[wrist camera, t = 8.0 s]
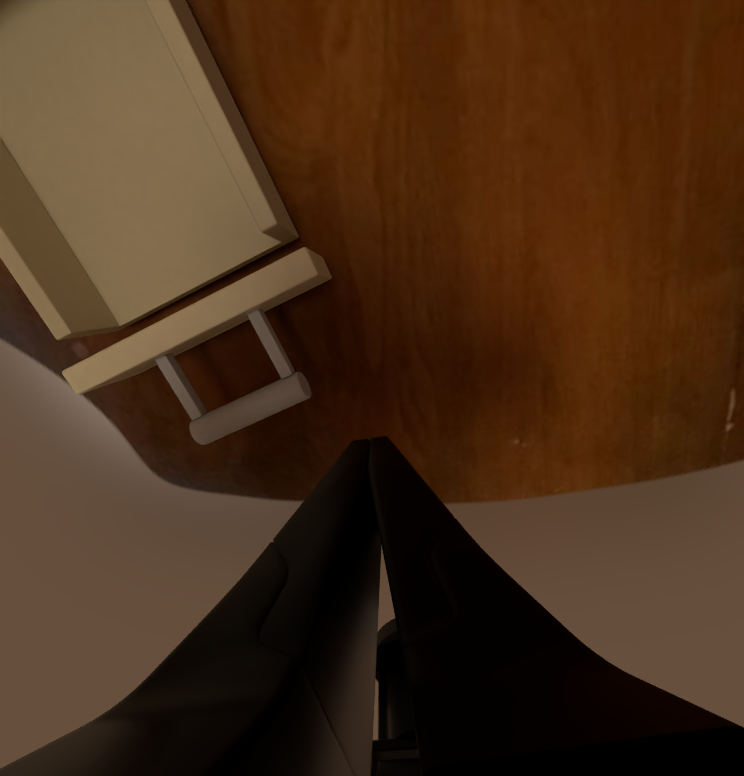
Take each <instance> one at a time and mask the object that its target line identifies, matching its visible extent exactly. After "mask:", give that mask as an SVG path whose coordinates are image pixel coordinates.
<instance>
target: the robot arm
mask: <svg viewBox="0 0 744 776" xmlns="http://www.w3.org/2000/svg"><path fill="white" fill-rule="evenodd" d="M381 544H382V549H383V555H384V560H385V565H386V570H387V575H388V581H389V586H390V592H391V596H392V602H393V607H394V613H395V618H396V623H397V628H398V634H399V639H398V640H396V641H393V642H391V643H389V644H386V645H384V646H381V647H379V648H377V628H378V607H379V585H380V584H379V583H380V563H381ZM376 671H377V672H378V674H379V680H378V740H373V717H374V696H375V674H376ZM0 776H744V728H743V727H742V726H739V725H737V724H735V723H733V722H731V721H729V720H727V719H724V718H722V717H720V716H718V715H716V714H713V713H711V712H709V711H707V710H705V709H703V708H701V707H699V706H697V705H694V704H692V703H690V702H688V701H686V700H684V699H682V698H679V697H677V696H675V695H673V694H671V693H669V692H666V691H664V690H662V689H660V688H658V687H656V686H654V685H651V684H649V683H647V682H645V681H643V680H640V679H639V678H637V677H634V676H632V675H630V674H628V673H626V672H624V671H622V670H621V669H619V668H617V667H616V666H614V665H612V664H611V663H609V662H608V661H606V660H605V659H603V658H602V657H601V656H599V655H598V654H596V653H595V652H594V651H592V650H591V649H590V648H588V647H587V646H586V645H585V644H583V643H582V642H581V641H580V640H579V639H577V638H576V637H575V636H574V635H573V634H572V633H571V632H570V631H569V630H568V629H566V628H565V627H564V626H563V625H562V624H561V623H560V622H559V621H558V620H557V619H556V618H554V616H552V615H551V614H550V613H549V612H548V611H547V610H546V609H545V608H544V607H543V606H542V605H541V604H540V603H538V602H537V601H536V600H535V599H534V598H533V597H532V596H531V595H530V594H529V593H528V592H527V591H526V590H524V589H523V588H522V587H521V586H520V585H519V584H518V583H517V582H516V581H515V580H514V579H513V578H511V577H510V576H509V575H508V574H507V573H506V572H505V571H504V570H503V569H502V568H501V567H500V566H499V565H498V564H497V563H496V562H495V561H494V560H493V559H492V558H491V557H490V556H489V555H488V554H487V553H486V552H485V551H484V550H483V549H482V548H481V547H480V546H479V545H478V544H477V543H476V542H475V540H474V539H473V538H472V537H471V536H470V535H469V534H468V533H467V531H466V530H465V529H464V528H463V527H462V525H461V524H460V523H459V522H458V521H457V519H455V518H454V516H453V515H452V514H451V512H450V511H449V510H448V509H447V508H446V506H445V505H444V504H443V503H442V502H441V500H440V499H439V498H438V497H437V496H436V494H435V493H434V492H433V491H432V489H431V488H430V487H429V486H428V485H427V483H426V482H425V481H424V480H423V479H422V477H421V476H420V475H419V474H418V473H417V471H416V470H415V469H414V468H413V467H412V465H411V464H410V463H409V462H408V461H407V459H406V458H405V457H404V456H403V455H402V453H401V452H400V451H399V450H398V449H397V447H396V446H395V445H394V444H393V442H392V441H391V440H390V439H389V438H388V437H387V436H382V437H375V438H371V439H370V440H369V439H362V440H355V441H352V442H351V443H350V445H349V446H348V447H347V448H346V450H345V451H344V452H343V453H342V454H341V456H340V457H339V458H338V459H337V461H336V462H335V463H334V464H333V466H332V467H331V468H330V469H329V471H328V472H327V473H326V474H325V476H324V477H323V478H322V479H321V481H320V482H319V483H318V484H317V486H316V487H315V488H314V489H313V491H312V492H311V493H310V494H309V496H308V497H307V498H306V499H305V501H304V502H303V503H302V504H301V506H300V507H299V508H298V509H297V511H296V512H295V513H294V514H293V515H292V517H291V518H290V519H289V520H288V522H287V523H286V524H285V526H284V527H283V528H282V529H281V530H280V532H279V533H278V534H277V535H276V537H275V538H274V539H273V542H271V543H270V544H269V545H268V546H267V548H266V549H265V550H264V551H263V553H262V554H261V555H260V556H259V558H258V559H257V560H256V561H255V562H254V564H253V565H252V566H251V567H250V568H249V569H248V571H247V572H246V573H245V574H244V575H243V577H242V578H241V579H240V580H239V581H238V582H237V583H236V585H234V587H233V588H232V589H231V590H230V591H229V592H228V593H227V594H226V595H225V596H224V598H223V599H222V600H221V601H220V602H219V603H218V604H217V605H216V606H215V607H214V608H213V609H212V610H211V611H210V613H208V615H207V616H206V617H205V618H204V619H203V620H202V621H201V622H200V623H199V624H198V625H197V626H196V627H195V628H194V629H193V630H192V631H191V633H189V634H188V635H187V637H186V638H185V639H184V640H183V641H182V642H181V643H180V644H179V645H178V646H177V647H176V648H175V649H174V650H173V651H172V652H171V653H170V654H169V655H168V656H167V657H166V659H165V660H164V661H163V662H162V663H161V664H160V665H159V666H158V667H157V668H156V669H155V670H154V671H153V672H152V673H151V674H150V676H148V677H147V678H146V679H145V680H144V681H143V682H142V683H141V684H140V685H139V686H138V687H137V688H136V689H135V690H134V691H132V692H131V693H130V694H129V695H128V696H127V697H125V698H124V699H123V700H122V701H121V702H119V703H118V704H117V705H115V706H114V707H112V708H111V709H110V710H108V711H107V712H105V713H104V714H102V715H101V716H99V717H98V718H96V719H94V720H93V721H91V722H89V723H87V724H86V725H84V726H82V727H80V728H78V729H76V730H74V731H72V732H70V733H68V734H66V735H64V736H63V737H61V738H59V739H57V740H55V741H53V742H51V743H49V744H47V745H45V746H43V747H41V748H39V749H37V750H35V751H34V752H32V753H30V754H28V755H26V756H24V757H22V758H20V759H18V760H16V761H14V762H12V763H10V764H8V765H6V766H5V767H3V768H1V769H0Z"/></svg>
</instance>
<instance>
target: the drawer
mask: <svg viewBox="0 0 744 776" xmlns="http://www.w3.org/2000/svg"><path fill="white" fill-rule="evenodd" d="M297 238H299V236H298V234H297V231H296V229H295V227H294V225H293V223H292V221H291V219H290V217H289V215H288V213H287V211H286V208H285V206H284V204H283V202H282V200H281V198H280V196H279V194H278V192H277V190H276V188H275V186H274V183H273V181H272V179H271V177H270V175H269V173H268V171H267V169H266V167H265V165H264V163H263V161H262V158H261V156H260V154H259V152H258V150H257V148H256V146H255V144H254V142H253V140H252V138H251V135H250V133H249V131H248V129H247V127H246V125H245V123H244V121H243V119H242V117H241V115H240V113H239V110H238V108H237V106H236V104H235V102H234V100H233V98H232V96H231V94H230V92H229V90H228V88H227V85H226V83H225V81H224V79H223V77H222V75H221V73H220V71H219V69H218V67H217V65H216V62H215V60H214V58H213V56H212V54H211V52H210V50H209V48H208V46H207V44H206V42H205V40H204V37H203V35H202V33H201V31H200V29H199V27H198V25H197V23H196V21H195V19H194V17H193V15H192V12H191V10H190V8H189V6H188V4H187V2H186V0H0V258H1V259H2V261H3V262H4V264H5V265H6V267H7V268H8V269H9V271H10V272H11V274H12V275H13V277H14V278H15V280H16V281H17V283H18V284H19V286H20V287H21V288H22V290H23V291H24V293H25V294H26V296H27V297H28V299H29V300H30V302H31V303H32V305H33V306H34V307H35V309H36V310H37V312H38V313H39V315H40V316H41V318H42V319H43V321H44V322H45V324H46V325H47V326H48V328H49V329H50V331H51V332H52V334H53V335H54V337H55V338H56V339H57V340H62V339H69V338H75V337H82V336H89V335H95V334H102V333H108V332H115V331H120V330H122V329H124V328H126V327H127V326H129V325H131V324H133V323H135V322H137V321H139V320H141V319H143V318H145V317H147V316H149V315H151V314H153V313H154V312H156V311H158V310H160V309H162V308H164V307H166V306H168V305H170V304H172V303H174V302H176V301H178V300H180V299H181V298H183V297H185V296H187V295H189V294H191V293H193V292H195V291H197V290H199V289H201V288H203V287H205V286H207V285H208V284H210V283H212V282H214V281H216V280H218V279H220V278H222V277H224V276H226V275H228V274H230V273H232V272H233V271H235V270H237V269H239V268H241V267H243V266H245V265H247V264H249V263H251V262H253V261H255V260H257V259H259V258H260V257H262V256H264V255H266V254H268V253H270V252H272V251H274V250H276V249H278V248H280V247H282V246H284V245H286V244H287V243H289V242H291V241H293V240H295V239H297ZM331 278H332V276H331V274H330V272H329V270H328V268H327V266H326V263H325V261H324V259H323V257H322V256H320V255H318V254H316V253H315V252H313V251H311V250H309V249H308V248H306V247H303V248H301V249H299V250H297V251H295V252H293V253H291V254H289V255H287V256H285V257H283V258H281V259H279V260H277V261H275V262H274V263H272V264H270V265H268V266H266V267H264V268H262V269H260V270H258V271H256V272H254V273H252V274H250V275H248V276H246V277H244V278H242V279H240V280H238V281H237V282H235V283H233V284H231V285H229V286H227V287H225V288H223V289H221V290H219V291H217V292H215V293H213V294H211V295H209V296H207V297H205V298H203V299H201V300H200V301H198V302H196V303H194V304H192V305H190V306H188V307H186V308H184V309H182V310H180V311H178V312H176V313H174V314H172V315H170V316H168V317H166V318H164V319H163V320H161V321H159V322H157V323H155V324H153V325H151V326H149V327H147V328H145V329H143V330H141V331H139V332H137V333H135V334H133V335H131V336H129V337H127V338H126V339H124V340H122V341H120V342H118V343H116V344H114V345H112V346H110V347H108V348H106V349H104V350H102V351H100V352H98V353H96V354H94V355H92V356H90V357H89V358H87V359H85V360H83V361H81V362H79V363H77V364H75V365H73V366H71V367H69V368H67V369H65V370H63V371H62V374H63V375H64V377H65V378H66V380H67V381H68V383H69V384H70V386H71V387H72V388H73V390H74V391H75V393H76V394H82V393H85V392H88V391H91V390H94V389H97V388H100V387H103V386H105V385H108V384H111V383H114V382H117V381H120V380H123V379H126V378H129V377H132V376H135V375H138V374H140V373H142V372H144V371H146V370H148V369H150V368H152V367H154V366H156V365H158V366H159V368H160V370H161V371H162V373H163V374H164V376H165V378H166V379H167V381H168V382H169V384H170V386H171V387H172V389H173V390H174V392H175V394H176V395H177V397H178V398H179V400H180V402H181V403H182V405H183V406H184V408H185V410H186V411H187V413H188V414H189V416H190V418H191V419H192V421H191V423H190V433H191V435H192V437H193V439H194V440H195V441H196V442H197V443H199V444H201V445H206V444H208V443H211V442H213V441H215V440H217V439H220V438H222V437H224V436H226V435H228V434H231V433H233V432H235V431H237V430H240V429H242V428H244V427H246V426H249V425H251V424H253V423H255V422H257V421H260V420H262V419H264V418H266V417H269V416H271V415H273V414H275V413H278V412H280V411H282V410H284V409H286V408H289V407H291V406H293V405H295V404H298V403H300V402H302V401H304V400H307V399H309V398H310V397H311V389H310V386H309V384H308V382H307V380H306V378H305V377H304V375H303V374H302V373H301V372H295V370H294V368H293V366H292V365H291V363H290V361H289V359H288V357H287V355H286V353H285V351H284V349H283V347H282V346H281V344H280V342H279V340H278V338H277V336H276V334H275V332H274V330H273V329H272V327H271V325H270V323H269V321H268V319H267V317H266V315H265V313H264V312H265V311H267V310H269V309H271V308H273V307H275V306H277V305H279V304H281V303H284V302H286V301H288V300H290V299H292V298H294V297H296V296H298V295H300V294H302V293H304V292H306V291H308V290H310V289H312V288H314V287H316V286H318V285H320V284H322V283H324V282H326V281H328V280H330V279H331ZM247 320H250V322H251V323H252V325H253V327H254V329H255V331H256V333H257V334H258V336H259V338H260V340H261V342H262V344H263V346H264V347H265V349H266V351H267V353H268V355H269V357H270V358H271V360H272V362H273V364H274V366H275V368H276V370H277V371H278V373H279V375H280V377H281V379H280V380H278V381H276V382H273V383H271V384H269V385H267V386H265V387H263V388H260V389H258V390H256V391H254V392H252V393H250V394H247V395H245V396H243V397H241V398H239V399H237V400H235V401H232V402H230V403H228V404H226V405H224V406H222V407H219V408H217V409H215V410H213V411H211V412H209V413H207V410H206V409H205V407H204V405H203V404H202V402H201V400H200V399H199V397H198V395H197V394H196V392H195V391H194V389H193V387H192V386H191V384H190V382H189V381H188V379H187V377H186V376H185V374H184V373H183V371H182V369H181V368H180V366H179V364H178V363H177V361H176V359H175V358H174V356H176V355H178V354H180V353H182V352H184V351H186V350H188V349H190V348H192V347H195V346H197V345H199V344H201V343H203V342H205V341H207V340H209V339H211V338H213V337H215V336H217V335H219V334H221V333H223V332H225V331H227V330H229V329H231V328H233V327H235V326H237V325H239V324H241V323H243V322H245V321H247ZM294 372H295V373H294Z"/></svg>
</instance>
